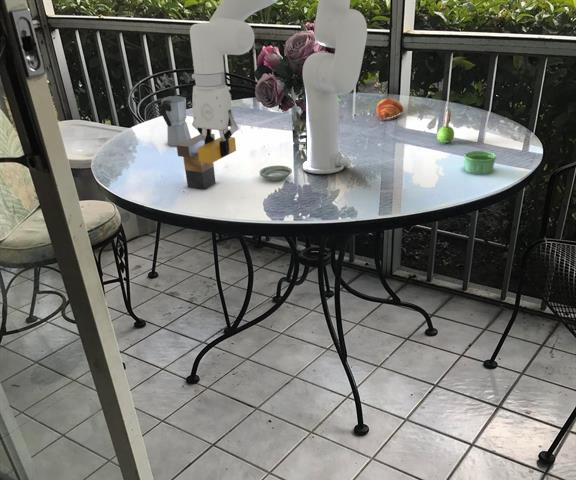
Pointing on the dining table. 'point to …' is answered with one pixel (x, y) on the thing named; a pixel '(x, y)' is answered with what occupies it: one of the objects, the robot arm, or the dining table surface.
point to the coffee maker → (175, 118)
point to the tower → (199, 173)
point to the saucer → (275, 172)
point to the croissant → (388, 108)
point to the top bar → (214, 150)
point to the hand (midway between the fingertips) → (217, 153)
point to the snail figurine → (446, 129)
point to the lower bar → (191, 146)
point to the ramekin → (479, 162)
